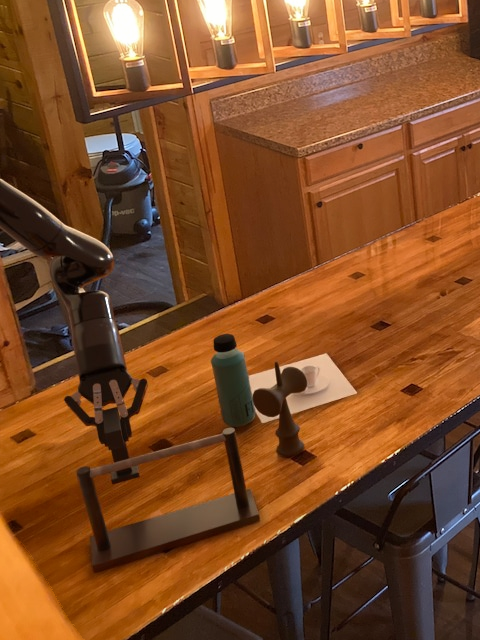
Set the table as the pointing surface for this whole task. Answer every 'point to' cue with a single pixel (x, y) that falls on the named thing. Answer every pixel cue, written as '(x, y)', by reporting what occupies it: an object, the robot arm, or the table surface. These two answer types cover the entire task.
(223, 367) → the beverage bottle
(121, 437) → the hook hanger
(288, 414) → the kendama
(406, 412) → the table surface
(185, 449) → the rail stand
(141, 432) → the table surface
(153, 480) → the table surface
